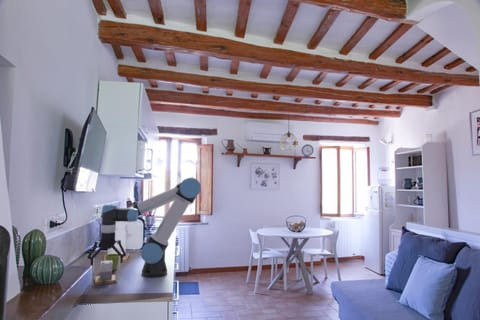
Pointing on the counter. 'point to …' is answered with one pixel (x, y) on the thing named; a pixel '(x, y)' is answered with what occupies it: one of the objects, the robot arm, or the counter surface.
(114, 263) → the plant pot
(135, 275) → the counter surface
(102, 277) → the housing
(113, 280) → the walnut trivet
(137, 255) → the counter surface
